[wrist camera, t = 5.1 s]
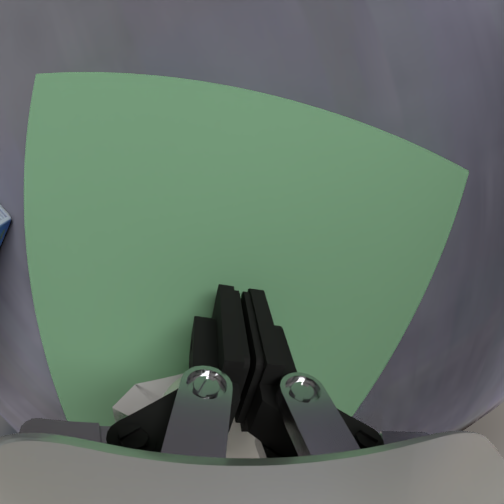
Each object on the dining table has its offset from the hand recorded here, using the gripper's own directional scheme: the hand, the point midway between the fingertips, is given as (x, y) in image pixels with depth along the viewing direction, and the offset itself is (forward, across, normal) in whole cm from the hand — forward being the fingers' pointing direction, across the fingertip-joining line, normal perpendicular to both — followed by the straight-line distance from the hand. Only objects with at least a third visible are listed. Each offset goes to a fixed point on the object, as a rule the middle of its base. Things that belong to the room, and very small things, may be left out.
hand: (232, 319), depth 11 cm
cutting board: (+3, 0, +3) cm, 4 cm away
